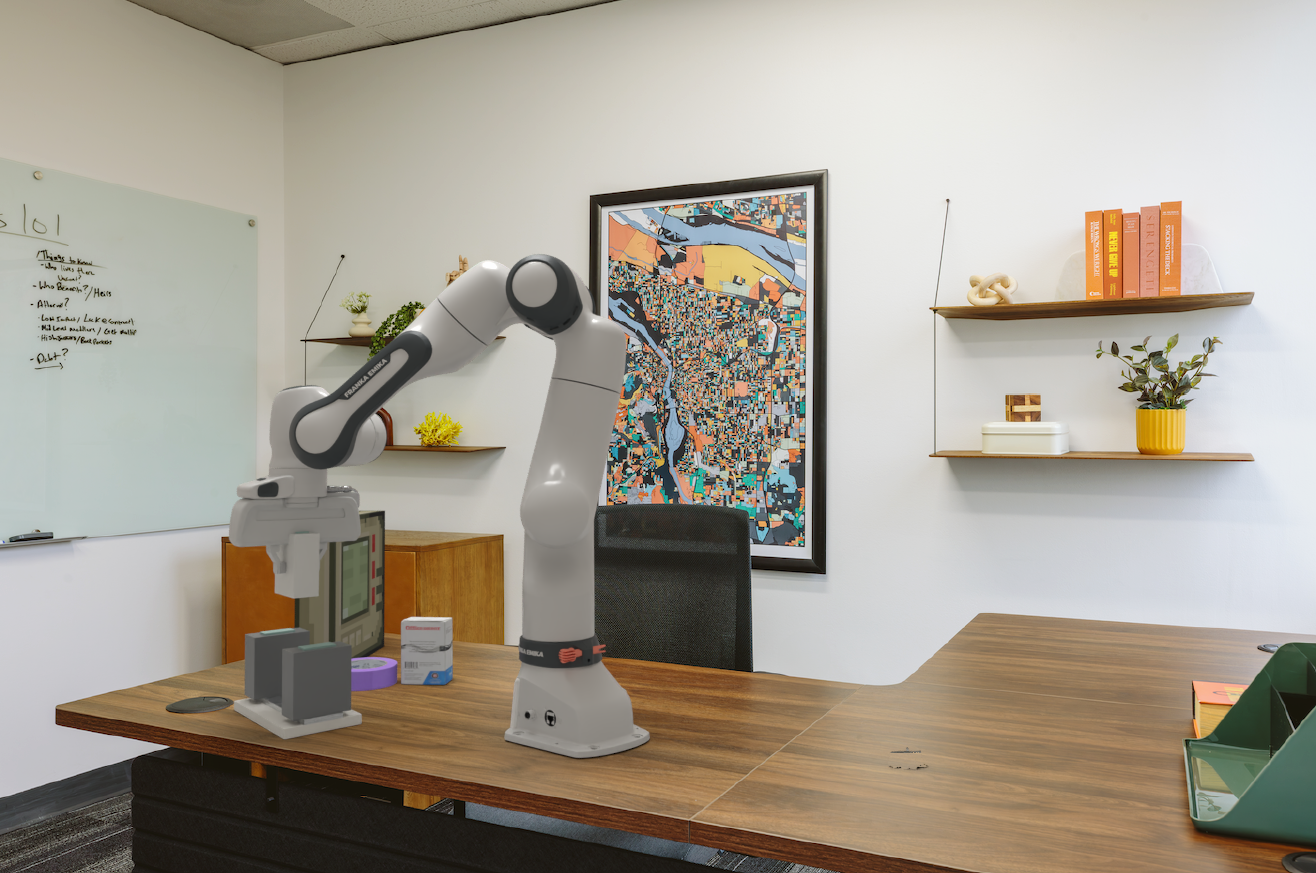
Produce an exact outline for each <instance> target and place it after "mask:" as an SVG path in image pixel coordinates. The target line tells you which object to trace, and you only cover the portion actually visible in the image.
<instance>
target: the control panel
mask: <svg viewBox="0 0 1316 873" xmlns="http://www.w3.org/2000/svg"><path fill="white" fill-rule="evenodd" d="M359 516H360V528H361V534H360V536H359V537H358V539H357V540H356V541H341V542H327V550H326V552H325V554H324V555H323V557H322V559H321V560H320V570H319V596H315V597H305V598H294V619H293V620H294V627H293V628H302V629H305V630H308V631H310V645H311V644H319V643H326V642H338V641H340V642H343V643H346V644H349V645H352V658H351V659H353V658H363V657H371V655H373V654H374V653H376V652H378V651H379V650H382V648H385V603H386V602H385V595H386V593H385V589H386V588H385V586H386V584H385V583H386V581H385V580H386V579H385V578H386V577H385V576H386V575H385V573H386V572H385V570H386V566H385V565H386V560H385V558H386V556H385V555H386V554H385V553H386V552H385V551H386V547H385V546H386V510H359Z"/></svg>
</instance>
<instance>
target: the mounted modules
mask: <svg viewBox="0 0 1316 873" xmlns="http://www.w3.org/2000/svg"><path fill="white" fill-rule="evenodd" d="M351 658H352V645H349V644H346V643H343V642H340V641H338V642H326V643H319V644H311V645H310V631H308V630H305V629H302V628H294V627H292V628H291V627H289V628H288V627H287V628H279V629H271V630H265V631H264V630H262V631H259V632H251V633H245V634H244V696H246V697H247V698H251V699H253V700H257V699H263V698H269V697H275V696H281V695H282V715H283V716H285V717H286V718H288V719H290V720H292V721H296V720H301V719H307V718H312V717H317V716H322V715H328V714H333V713H338V712H343V711H349V710H351V709H352V691H351Z"/></svg>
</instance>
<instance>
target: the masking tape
mask: <svg viewBox="0 0 1316 873" xmlns="http://www.w3.org/2000/svg"><path fill="white" fill-rule="evenodd" d="M397 683H398V661H397V660H395V659H393V658H388V657H379V656H378V657H376V656H368V657H363V658H353V659H351V692H364V691H372V690H373V691H374V690H380V689H385V688H389V687H392V686H394V685H395V684H397Z"/></svg>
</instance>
